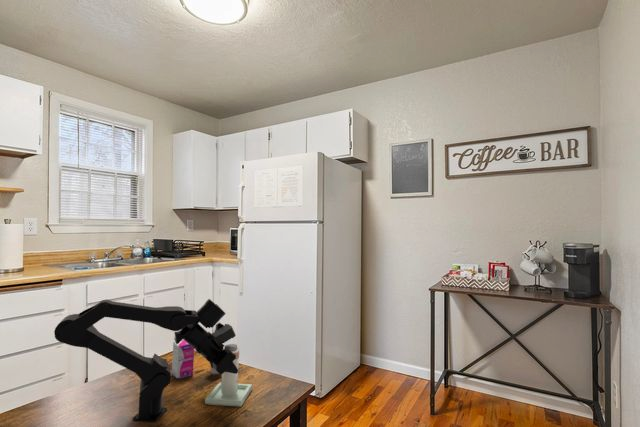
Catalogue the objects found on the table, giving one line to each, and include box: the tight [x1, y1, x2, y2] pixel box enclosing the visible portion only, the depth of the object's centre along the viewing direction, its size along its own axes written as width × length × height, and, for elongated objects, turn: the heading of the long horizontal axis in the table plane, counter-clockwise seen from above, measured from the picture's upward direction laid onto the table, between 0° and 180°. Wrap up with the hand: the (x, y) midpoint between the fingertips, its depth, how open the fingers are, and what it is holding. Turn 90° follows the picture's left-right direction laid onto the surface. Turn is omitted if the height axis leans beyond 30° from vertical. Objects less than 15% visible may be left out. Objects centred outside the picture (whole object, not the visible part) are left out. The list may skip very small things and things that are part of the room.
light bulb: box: [209, 362, 219, 376], centre depth 124 cm, size 6×6×10 cm
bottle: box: [220, 343, 240, 396], centre depth 108 cm, size 5×5×14 cm
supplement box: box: [171, 339, 195, 380], centre depth 123 cm, size 6×6×12 cm
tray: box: [204, 382, 253, 408], centre depth 108 cm, size 11×11×2 cm
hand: (234, 369), depth 109 cm, fingers closed on bottle, 5 cm apart
